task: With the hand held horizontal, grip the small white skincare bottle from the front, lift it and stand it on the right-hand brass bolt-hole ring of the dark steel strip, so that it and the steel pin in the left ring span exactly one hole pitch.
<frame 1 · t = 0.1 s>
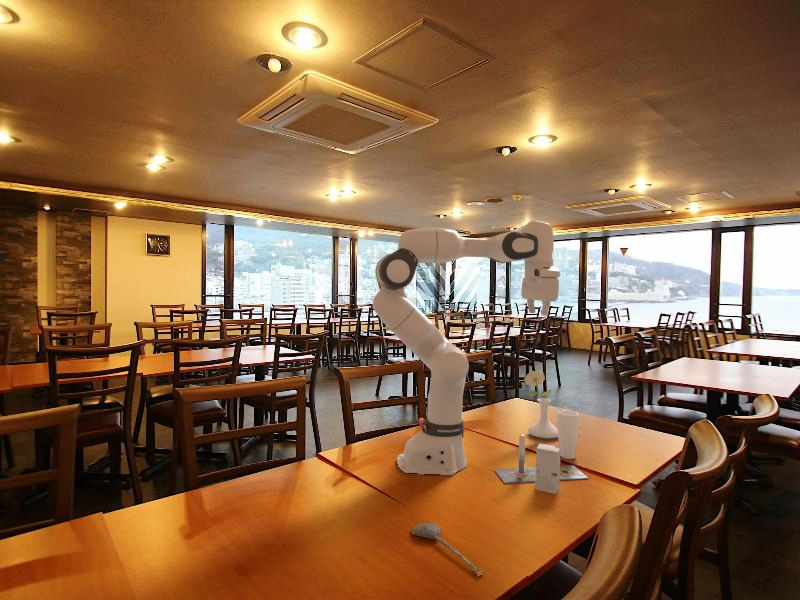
hand: (537, 314, 146), 48 cm above the table, tool pointing down, fingers open, 8 cm apart
soupspoon: (444, 552, 99), on the table
steel pin: (521, 475, 136), resting on bolt-hole strip
drinking glass: (567, 457, 150), on the table
bolt-hole strip: (540, 474, 137), on the table
flower in vase: (541, 436, 170), on the table
skincare box: (547, 489, 127), on the table
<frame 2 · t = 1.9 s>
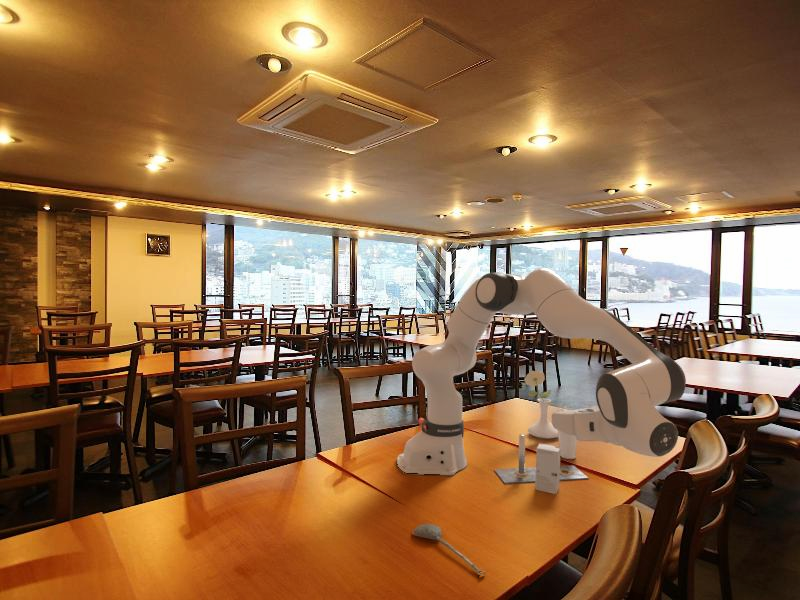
hand: (575, 411, 117), 25 cm above the table, tool horizontal, fingers open, 8 cm apart
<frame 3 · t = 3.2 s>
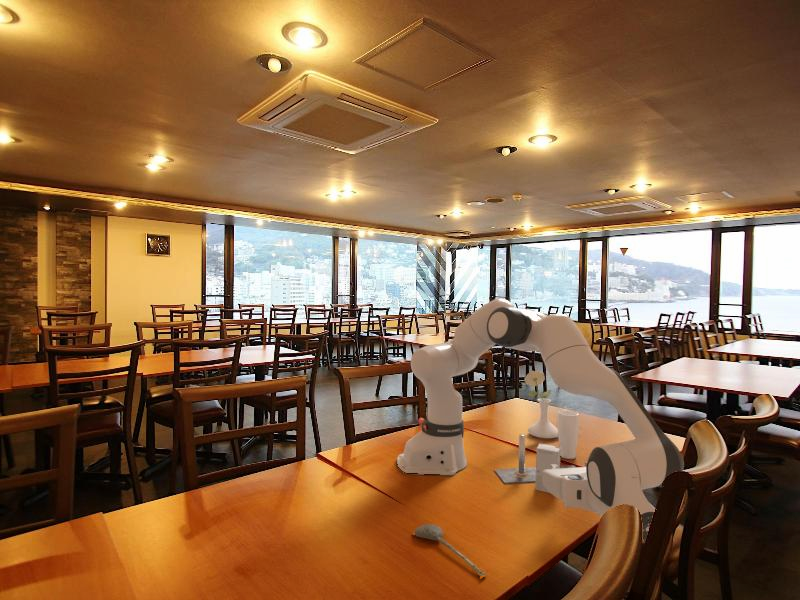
hand: (570, 465, 115), 12 cm above the table, tool horizontal, fingers open, 8 cm apart
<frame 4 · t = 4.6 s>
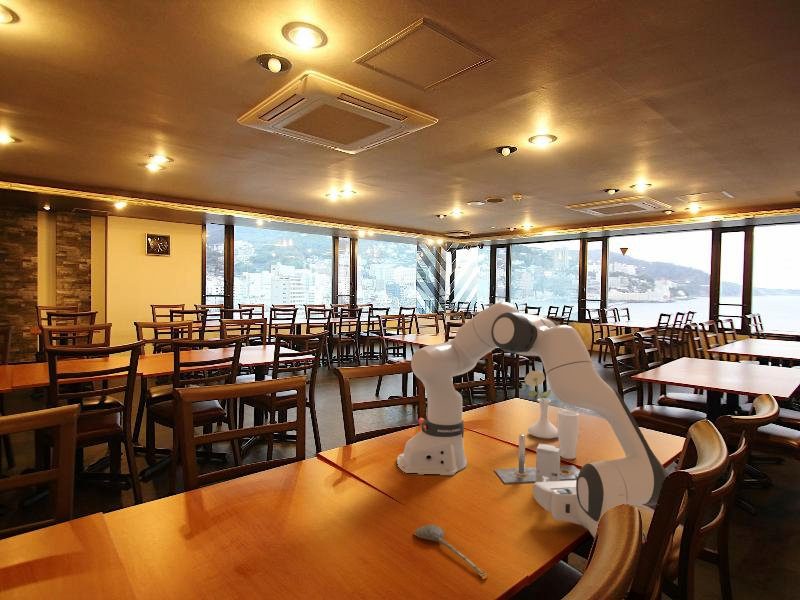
hand: (560, 478, 119), 7 cm above the table, tool horizontal, fingers open, 8 cm apart
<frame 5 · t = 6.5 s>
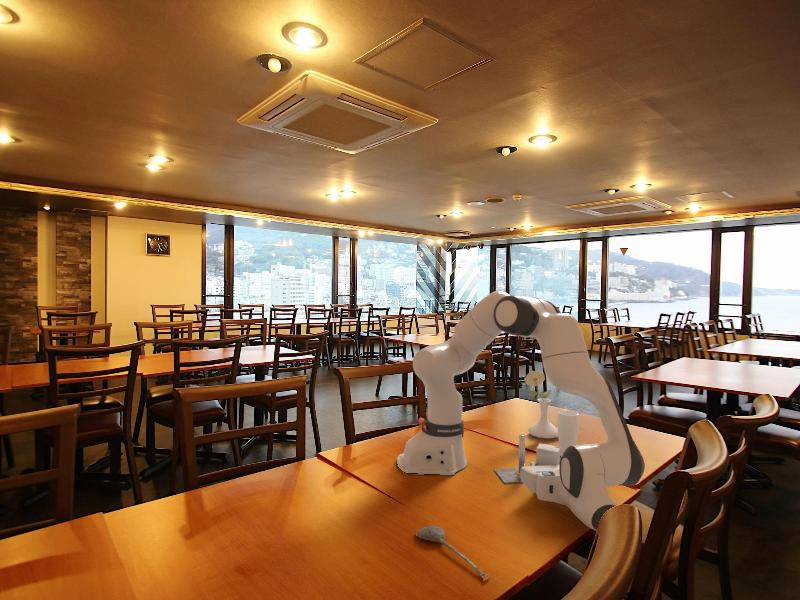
hand: (546, 463, 128), 7 cm above the table, tool horizontal, fingers closed on skincare box, 7 cm apart
skincare box: (547, 489, 127), on the table, touching gripper
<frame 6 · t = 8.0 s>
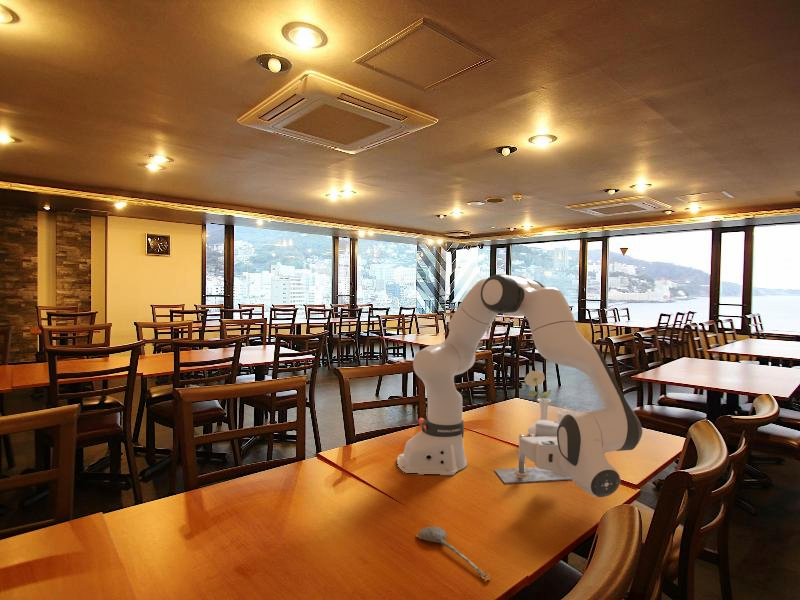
hand: (546, 435, 128), 15 cm above the table, tool horizontal, fingers closed on skincare box, 7 cm apart
skincare box: (547, 465, 127), point 7 cm above the table, touching gripper
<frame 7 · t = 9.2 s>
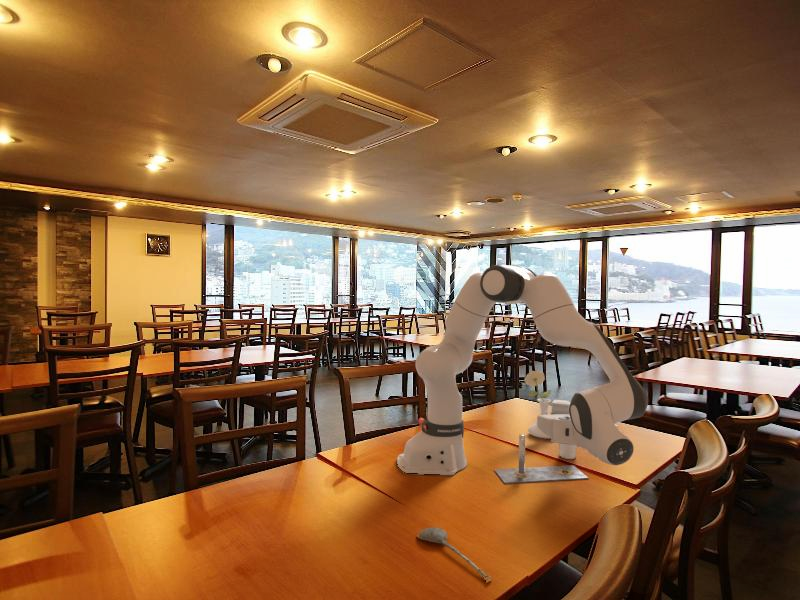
hand: (561, 414, 135), 19 cm above the table, tool horizontal, fingers closed on skincare box, 7 cm apart
skincare box: (563, 442, 134), point 11 cm above the table, touching gripper
when the fingers open (8 cm above the table, at t = 12.1 s): skincare box stays where it is, resting on bolt-hole strip.
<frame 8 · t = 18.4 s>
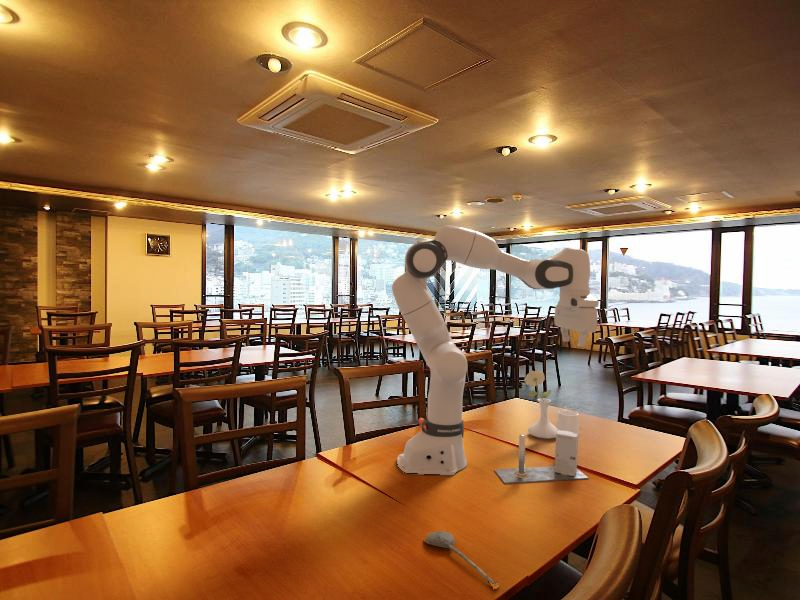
hand: (573, 343, 142), 39 cm above the table, tool pointing down, fingers open, 8 cm apart
soupspoon: (459, 562, 96), on the table
skincare box: (566, 472, 137), resting on bolt-hole strip
everything else where it was.
at the end: skincare box 0.2 cm from the target spot, resting on bolt-hole strip; skincare box tilted 0°; the gripper is holding nothing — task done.
